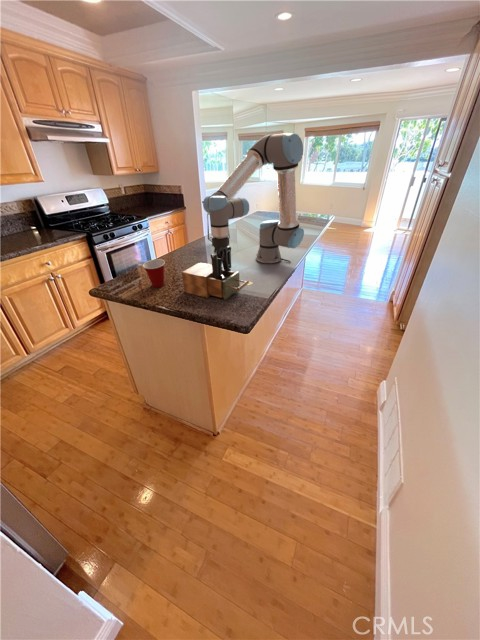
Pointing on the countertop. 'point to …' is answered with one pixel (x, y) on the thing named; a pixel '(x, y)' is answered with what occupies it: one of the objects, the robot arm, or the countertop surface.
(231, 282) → the drawer
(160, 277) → the plastic cup
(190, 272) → the cabinet
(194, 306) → the countertop surface
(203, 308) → the countertop surface
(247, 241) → the countertop surface
